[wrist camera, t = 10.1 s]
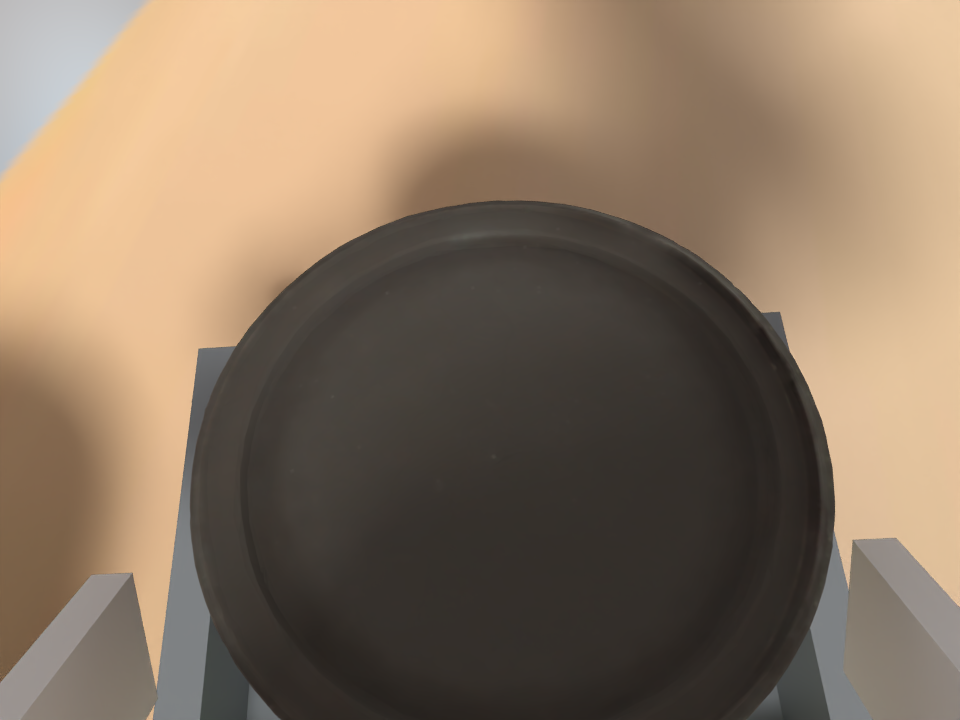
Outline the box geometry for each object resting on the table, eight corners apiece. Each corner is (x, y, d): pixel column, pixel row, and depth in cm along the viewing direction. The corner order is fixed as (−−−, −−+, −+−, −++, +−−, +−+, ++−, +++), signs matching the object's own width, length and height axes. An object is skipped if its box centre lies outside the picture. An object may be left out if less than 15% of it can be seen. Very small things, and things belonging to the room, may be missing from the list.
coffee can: (514, 905, 23) (506, 1016, 10) (278, 621, 26) (62, 450, 14) (755, 626, 26) (973, 450, 13) (513, 407, 30) (507, 110, 17)
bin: (731, 407, 32) (779, 311, 26) (832, 905, 25) (934, 936, 19) (260, 436, 33) (198, 348, 27) (220, 936, 25) (121, 976, 19)
